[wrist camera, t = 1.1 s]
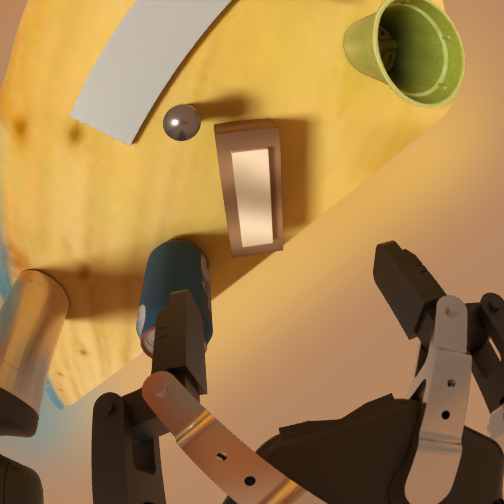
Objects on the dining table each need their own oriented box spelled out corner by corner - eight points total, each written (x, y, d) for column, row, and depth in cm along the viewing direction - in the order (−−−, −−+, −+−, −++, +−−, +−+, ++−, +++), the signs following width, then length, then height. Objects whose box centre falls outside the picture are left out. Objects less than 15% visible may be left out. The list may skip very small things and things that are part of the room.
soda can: (138, 263, 32) (120, 349, 22) (171, 223, 29) (159, 309, 20) (185, 290, 35) (184, 375, 26) (221, 256, 33) (230, 343, 23)
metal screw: (190, 133, 24) (187, 147, 20) (164, 119, 23) (156, 130, 19) (208, 108, 23) (208, 116, 19) (181, 93, 21) (175, 98, 18)
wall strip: (131, 144, 23) (129, 146, 23) (72, 114, 20) (69, 116, 20) (298, -61, 12) (300, -63, 12) (236, -92, 9) (236, -95, 9)
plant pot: (310, 65, 21) (355, 68, 14) (343, -11, 16) (395, -29, 9) (388, 106, 24) (443, 128, 17) (416, 37, 19) (475, 43, 12)
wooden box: (274, 226, 32) (284, 253, 28) (228, 232, 31) (232, 261, 27) (268, 117, 24) (281, 129, 20) (213, 124, 24) (214, 136, 20)
